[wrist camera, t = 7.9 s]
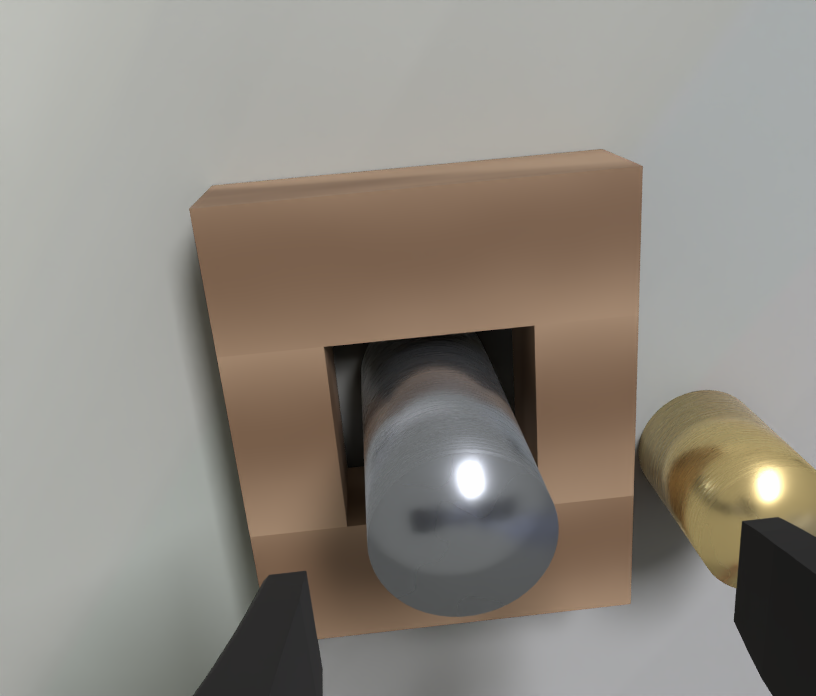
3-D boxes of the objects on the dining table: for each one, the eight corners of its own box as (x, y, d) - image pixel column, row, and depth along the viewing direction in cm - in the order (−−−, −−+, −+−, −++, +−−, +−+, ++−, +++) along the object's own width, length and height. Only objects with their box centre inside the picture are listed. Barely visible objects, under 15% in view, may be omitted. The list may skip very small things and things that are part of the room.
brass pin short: (751, 489, 24) (834, 583, 20) (637, 502, 24) (697, 598, 20) (761, 384, 23) (852, 460, 19) (640, 397, 23) (704, 476, 19)
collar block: (598, 540, 24) (630, 603, 22) (279, 575, 24) (270, 644, 21) (602, 149, 20) (643, 166, 17) (212, 185, 20) (189, 208, 17)
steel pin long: (485, 427, 23) (552, 612, 15) (362, 431, 23) (369, 621, 15) (490, 310, 22) (564, 449, 14) (359, 313, 21) (364, 457, 14)
